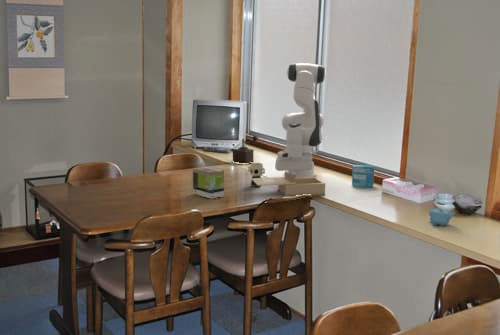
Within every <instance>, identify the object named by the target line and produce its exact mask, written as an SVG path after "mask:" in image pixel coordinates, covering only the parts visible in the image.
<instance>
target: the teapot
mask: <svg viewBox="0 0 500 335" xmlns="http://www.w3.org/2000/svg"><path fill="white" fill-rule="evenodd" d="M428 214H429V221H430V222H429V224H432V226H437V225H439V226H440V227H442V228H443V227H445V226H447V225H448V224H449V223H450V221H451V219H452V217H453V215H454V214H456V212H451V211H450V210H448V209H443V208H433V209H432V210H430V211H429V212H428Z"/></svg>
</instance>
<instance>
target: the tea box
mask: <svg viewBox="0 0 500 335" xmlns="http://www.w3.org/2000/svg"><path fill="white" fill-rule="evenodd" d="M192 174H193V175H192V176H193V177H192V181H193V182H192V183H193V186H192V188H193V189H192V191H193V193H196V194H199V195H202V196H204V197H207V198H215V197H220V196H224V195H225V171H224V169H219V168H214V167H212V166H211V167H210V166H203V167H195V168H193V169H192ZM207 198H206V199H207Z"/></svg>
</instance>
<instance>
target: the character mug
mask: <svg viewBox="0 0 500 335" xmlns="http://www.w3.org/2000/svg"><path fill="white" fill-rule="evenodd" d="M247 169H248V170H247V172H248V173H250V175H251V181H250V186H251V185H252V186H251V187H254V186H258V185H257V184H256V183H255V182H254V181H253V180H252V178H262V177H261V176H263V174H265V173H266V169H265V167H264V165H263V163H261V162H254V163H251V164H249V165H248V167H247Z"/></svg>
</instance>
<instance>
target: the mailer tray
mask: <svg viewBox="0 0 500 335" xmlns="http://www.w3.org/2000/svg"><path fill="white" fill-rule="evenodd" d="M294 182H295V183H296V184H286V185H277V186H278V190H277V191H279V192H280V193H281V195H283V196H284V197H286V196H295V197H297V196H296V195H303V194H311V195H312V197H313V196H326V183H325V182H324V181H323V180H321V179H319V178H318V177H317V176H313V177H311V178H294ZM286 198H287V197H286Z"/></svg>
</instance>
